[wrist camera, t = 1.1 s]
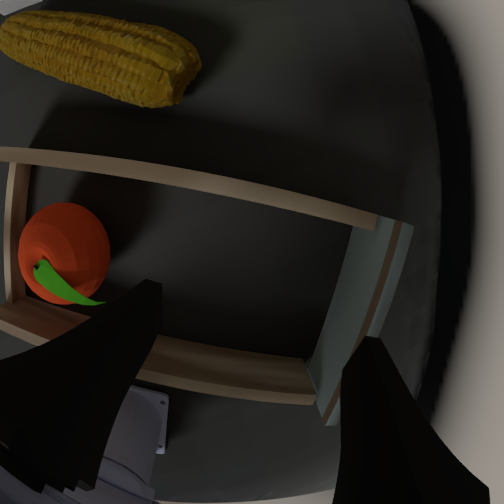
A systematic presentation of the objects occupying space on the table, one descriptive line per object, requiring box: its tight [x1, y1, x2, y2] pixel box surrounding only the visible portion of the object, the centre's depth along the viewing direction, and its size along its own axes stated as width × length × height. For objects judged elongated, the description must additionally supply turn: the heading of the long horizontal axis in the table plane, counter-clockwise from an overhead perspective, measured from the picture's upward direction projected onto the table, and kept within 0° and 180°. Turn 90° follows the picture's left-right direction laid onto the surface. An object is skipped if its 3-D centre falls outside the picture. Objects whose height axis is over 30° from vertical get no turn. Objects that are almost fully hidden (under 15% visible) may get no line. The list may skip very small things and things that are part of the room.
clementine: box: [18, 203, 110, 305], centre depth 17 cm, size 8×7×7 cm
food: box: [0, 10, 202, 108], centre depth 15 cm, size 21×6×6 cm, turn 64°
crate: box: [0, 147, 378, 405], centre depth 19 cm, size 14×26×5 cm, turn 77°
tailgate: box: [307, 215, 415, 426], centre depth 19 cm, size 14×1×6 cm, turn 167°
